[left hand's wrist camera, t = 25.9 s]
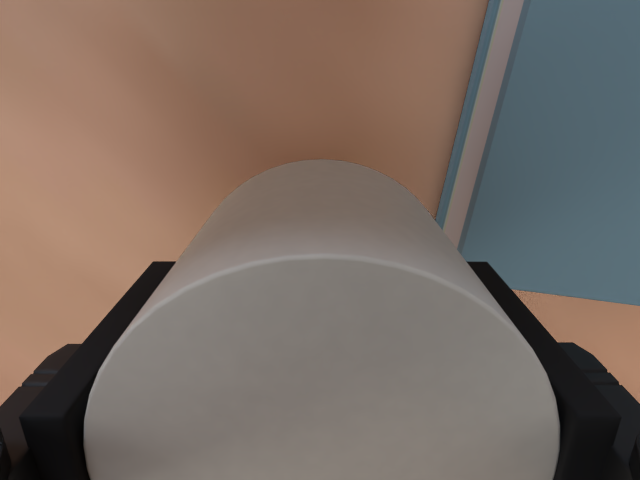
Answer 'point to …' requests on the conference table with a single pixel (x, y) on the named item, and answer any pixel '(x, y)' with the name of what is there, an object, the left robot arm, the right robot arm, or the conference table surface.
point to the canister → (321, 349)
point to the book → (552, 150)
